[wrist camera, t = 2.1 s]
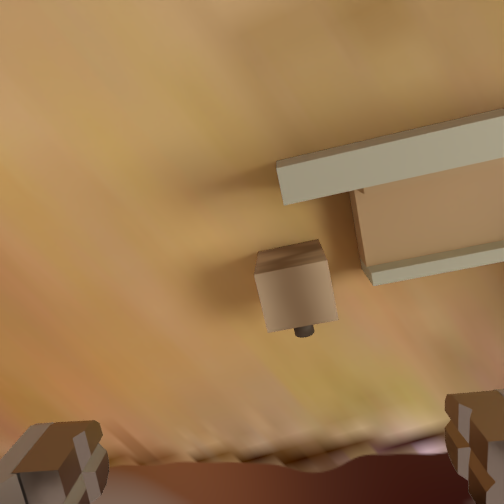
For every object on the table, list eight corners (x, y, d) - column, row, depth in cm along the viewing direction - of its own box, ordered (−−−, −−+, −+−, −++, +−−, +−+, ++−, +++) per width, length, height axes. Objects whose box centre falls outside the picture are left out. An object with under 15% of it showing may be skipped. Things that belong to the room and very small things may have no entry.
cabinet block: (318, 239, 31) (327, 260, 26) (329, 300, 33) (341, 332, 27) (258, 251, 32) (253, 274, 26) (272, 310, 33) (270, 345, 28)
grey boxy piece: (582, 89, 27) (747, 59, 18) (584, 225, 30) (730, 263, 20) (276, 160, 30) (276, 168, 20) (301, 280, 32) (311, 337, 23)
